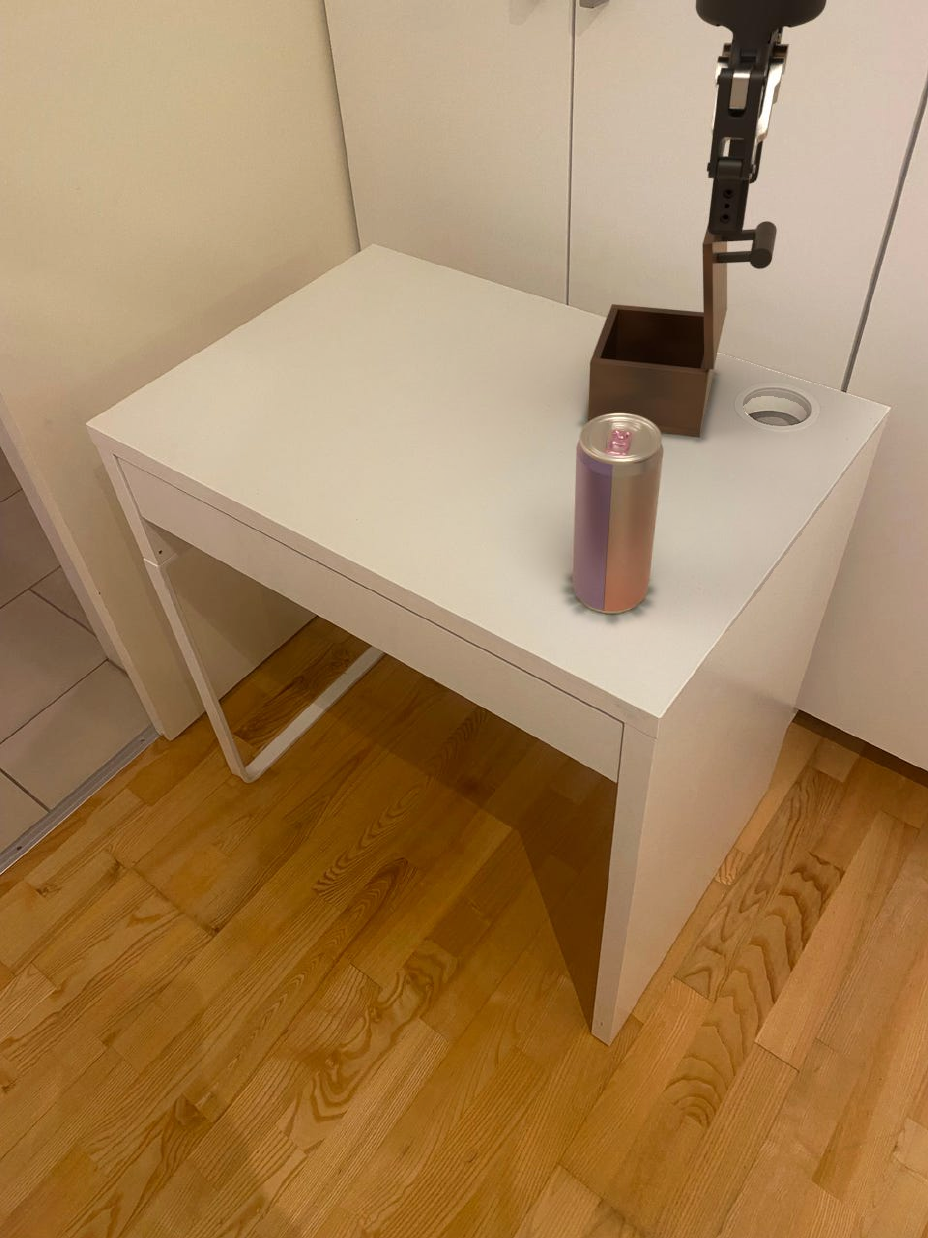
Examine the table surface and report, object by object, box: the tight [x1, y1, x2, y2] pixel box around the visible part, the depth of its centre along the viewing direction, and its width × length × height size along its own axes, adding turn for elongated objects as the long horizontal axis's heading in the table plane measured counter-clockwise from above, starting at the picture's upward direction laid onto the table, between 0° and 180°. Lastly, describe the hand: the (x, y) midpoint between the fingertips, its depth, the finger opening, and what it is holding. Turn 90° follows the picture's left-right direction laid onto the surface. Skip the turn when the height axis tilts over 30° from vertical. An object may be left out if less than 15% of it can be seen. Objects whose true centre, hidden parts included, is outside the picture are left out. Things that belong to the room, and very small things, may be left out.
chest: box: [587, 303, 715, 438], centre depth 91 cm, size 11×11×7 cm
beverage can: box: [572, 413, 664, 614], centre depth 71 cm, size 6×6×15 cm
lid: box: [701, 220, 778, 370], centre depth 83 cm, size 11×11×5 cm
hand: (733, 205), depth 66 cm, fingers open, 8 cm apart
